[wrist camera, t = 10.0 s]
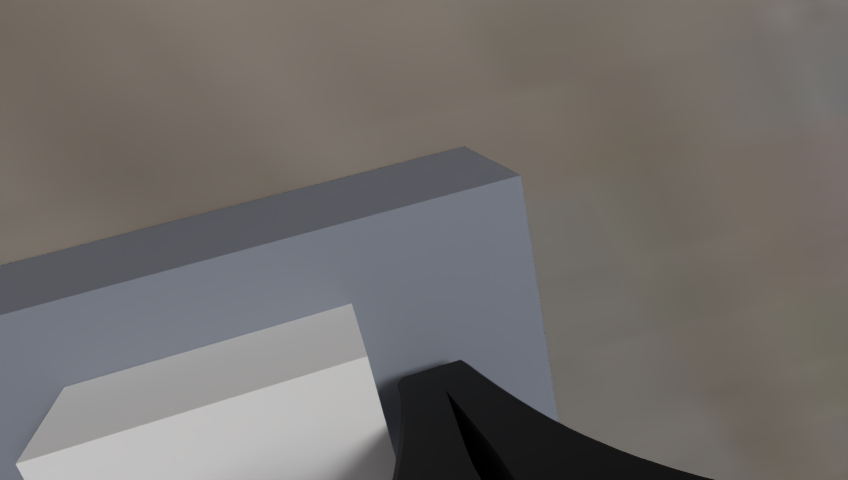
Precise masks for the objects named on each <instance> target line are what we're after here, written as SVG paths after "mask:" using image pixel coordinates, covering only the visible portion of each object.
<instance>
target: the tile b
mask: <svg viewBox="0 0 848 480" xmlns="http://www.w3.org/2000/svg"><path fill="white" fill-rule="evenodd" d="M395 463H396V458H395V454H394V450H393V447H392V443H391V440H390V436H389V432H388V429H387V425H386V421H385V418H384V414H383V411H382V407H381V403H380V400H379V396H378V392H377V389H376V385H375V382H374V378H373V374H372V371H371V367H370V363H369V360H368V356H367V353H366V349H365V346H364V343H363V339H362V336H361V333H360V329H359V326H358V323H357V319H356V316H355V313H354V309H353V306H352V304H348V305H345V306H341V307H338V308H335V309H331V310H328V311H324V312H321V313H317V314H314V315H311V316H307V317H304V318H300V319H297V320H293V321H290V322H287V323H283V324H280V325H276V326H273V327H269V328H266V329H262V330H259V331H256V332H252V333H249V334H245V335H242V336H238V337H235V338H232V339H228V340H225V341H221V342H218V343H214V344H211V345H208V346H204V347H201V348H197V349H194V350H190V351H187V352H183V353H180V354H177V355H173V356H170V357H166V358H163V359H159V360H156V361H153V362H149V363H146V364H142V365H139V366H135V367H132V368H129V369H125V370H122V371H118V372H115V373H111V374H108V375H105V376H101V377H98V378H94V379H91V380H87V381H84V382H80V383H77V384H74V385H70V386H67V387H64V388H63V390H62V391H61V393H60V395H59V396H58V398H57V399H56V401H55V403H54V404H53V406H52V407H51V409H50V410H49V412H48V414H47V415H46V417H45V418H44V420H43V421H42V423H41V425H40V426H39V428H38V429H37V431H36V432H35V434H34V436H33V437H32V439H31V440H30V442H29V443H28V445H27V447H26V448H25V450H24V451H23V453H22V454H21V456H20V458H19V459H18V461H17V462H16V466H17V468H18V470H19V471H20V473H21V475H22V477H23V479H24V480H392V479H393V474H394V469H395Z"/></svg>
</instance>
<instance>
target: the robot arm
mask: <svg viewBox="0 0 848 480" xmlns="http://www.w3.org/2000/svg"><path fill="white" fill-rule="evenodd" d="M397 385H398V389H399V393H400V399H401V423H400V433H399V444H398V452H397V458H396V463H395V469H394V474H393V479H392V480H714V479H709V478H705V477H701V476H698V475H694V474H691V473H687V472H683V471H680V470H676V469H673V468H670V467H667V466H664V465H661V464H658V463H655V462H652V461H649V460H646V459H642V458H639V457H637V456H634V455H631V454H628V453H626V452H623V451H620V450H618V449H615V448H613V447H611V446H608V445H606V444H603V443H601V442H599V441H596V440H594V439H592V438H589V437H587V436H585V435H583V434H580V433H578V432H576V431H574V430H572V429H570V428H568V427H566V426H564V425H562V424H561V423H559V422H557V421H555V420H553V419H551V418H549V417H548V416H546V415H544V414H542V413H541V412H539V411H537V410H535V409H534V408H532V407H531V406H529V405H527V404H526V403H524V402H523V401H521V400H519V399H518V398H516V397H514V396H513V395H511V394H510V393H508V392H507V391H505V390H504V389H502V388H501V387H499V386H498V385H496V384H495V383H494V382H492V381H491V380H489V379H488V378H486V377H485V376H484V375H482V374H481V373H480V372H478V371H477V370H475V369H474V368H473V367H471V366H470V365H469V364H467V363H466V362H464V361H462V360H457V361H454V362H451V363H448V364H444V365H441V366H438V367H435V368H432V369H428V370H425V371H422V372H419V373H415V374H412V375H409V376H406V377H403V378H401V380H400V381H399V383H398V384H397Z"/></svg>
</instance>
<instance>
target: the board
mask: <svg viewBox="0 0 848 480" xmlns="http://www.w3.org/2000/svg"><path fill="white" fill-rule="evenodd" d="M348 304H352V306H353V309H354V313H355V316H356V319H357V323H358V326H359V329H360V333H361V336H362V339H363V343H364V346H365V349H366V353H367V356H368V360H369V363H370V367H371V371H372V374H373V378H374V382H375V385H376V389H377V392H378V396H379V400H380V403H381V407H382V411H383V414H384V418H385V421H386V425H387V429H388V432H389V436H390V440H391V443H392V447H393V450H394V454H395V458H397V452H398V444H399V433H400V423H401V399H400V393H399V389H398V385H397V384H398V383H399V381H400V380H401V378H403V377H406V376H409V375H412V374H415V373H419V372H422V371H425V370H428V369H432V368H435V367H438V366H441V365H444V364H448V363H451V362H454V361H457V360H462V361H464V362H466V363H467V364H469V365H470V366H471V367H473V368H474V369H475V370H477V371H478V372H480V373H481V374H482V375H484V376H485V377H486V378H488V379H489V380H491V381H492V382H494V383H495V384H496V385H498V386H499V387H501V388H502V389H504V390H505V391H507V392H508V393H510V394H511V395H513V396H514V397H516V398H518V399H519V400H521V401H523V402H524V403H526V404H527V405H529V406H531V407H532V408H534V409H535V410H537V411H539V412H541V413H542V414H544V415H546V416H548V417H549V418H551V419H553V420H555V421H557V422H558V415H557V409H556V402H555V396H554V389H553V382H552V376H551V369H550V363H549V356H548V350H547V343H546V336H545V330H544V323H543V317H542V310H541V304H540V297H539V291H538V284H537V277H536V271H535V264H534V258H533V251H532V245H531V238H530V231H529V225H528V218H527V212H526V205H525V199H524V192H523V186H522V179H521V175H519V174H517V173H515V172H514V171H512V170H510V169H508V168H506V167H504V166H502V165H500V164H498V163H496V162H494V161H492V160H490V159H488V158H486V157H484V156H482V155H480V154H478V153H476V152H474V151H472V150H470V149H468V148H467V147H461V148H457V149H453V150H449V151H445V152H441V153H438V154H434V155H430V156H426V157H422V158H418V159H414V160H410V161H406V162H403V163H399V164H395V165H391V166H387V167H383V168H379V169H375V170H371V171H368V172H364V173H360V174H356V175H352V176H348V177H344V178H340V179H336V180H333V181H329V182H325V183H321V184H317V185H313V186H309V187H305V188H301V189H298V190H294V191H290V192H286V193H282V194H278V195H274V196H270V197H266V198H262V199H259V200H255V201H251V202H247V203H243V204H239V205H235V206H231V207H227V208H224V209H220V210H216V211H212V212H208V213H204V214H200V215H196V216H192V217H189V218H185V219H181V220H177V221H173V222H169V223H165V224H161V225H157V226H154V227H150V228H146V229H142V230H138V231H134V232H130V233H126V234H122V235H119V236H115V237H111V238H107V239H103V240H99V241H95V242H91V243H87V244H83V245H80V246H76V247H72V248H68V249H64V250H60V251H56V252H52V253H48V254H45V255H41V256H37V257H33V258H29V259H25V260H21V261H17V262H13V263H10V264H6V265H2V266H0V480H24V479H23V477H22V475H21V473H20V471H19V470H18V468H17V466H16V462H17V461H18V459H19V458H20V456H21V454H22V453H23V451H24V450H25V448H26V447H27V445H28V443H29V442H30V440H31V439H32V437H33V436H34V434H35V432H36V431H37V429H38V428H39V426H40V425H41V423H42V421H43V420H44V418H45V417H46V415H47V414H48V412H49V410H50V409H51V407H52V406H53V404H54V403H55V401H56V399H57V398H58V396H59V395H60V393H61V391H62V390H63V388H64V387H67V386H70V385H74V384H77V383H80V382H84V381H87V380H91V379H94V378H98V377H101V376H105V375H108V374H111V373H115V372H118V371H122V370H125V369H129V368H132V367H135V366H139V365H142V364H146V363H149V362H153V361H156V360H159V359H163V358H166V357H170V356H173V355H177V354H180V353H183V352H187V351H190V350H194V349H197V348H201V347H204V346H208V345H211V344H214V343H218V342H221V341H225V340H228V339H232V338H235V337H238V336H242V335H245V334H249V333H252V332H256V331H259V330H262V329H266V328H269V327H273V326H276V325H280V324H283V323H287V322H290V321H293V320H297V319H300V318H304V317H307V316H311V315H314V314H317V313H321V312H324V311H328V310H331V309H335V308H338V307H341V306H345V305H348Z"/></svg>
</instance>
